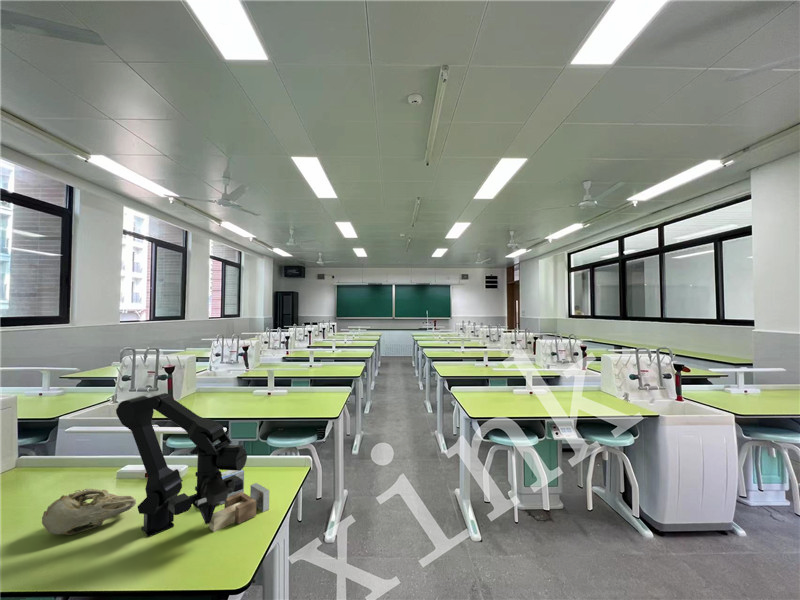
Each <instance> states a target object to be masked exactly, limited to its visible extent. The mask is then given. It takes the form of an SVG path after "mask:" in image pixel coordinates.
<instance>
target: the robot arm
mask: <svg viewBox="0 0 800 600" xmlns="http://www.w3.org/2000/svg"><path fill="white" fill-rule="evenodd" d="M154 411H156V412H158V413H159V414H161V415H162V416H164V417H165V418H167V419H168V420H170V421H171V422H172V423H173V424H175V425H177V426H179V427H180V428H181V429H182V430H184V431H185V432H186V433H187V436H188V439H189V440H190V441H191V442H192V443H193V444H194V445H195V447H194V448H193V449H192V450H191V451H190V452H189V453H190V455H197V460H196V461H197V462H196V464H197V467H196V468H197V469H196V471H195V476H196V486H195V487H194V490H195V492H196V493H194V494H191V495H189V496H188V495H187V494H186V493H185V492H184V493H181V494H180V492H181V490H182V488H183V483H182V482H183V479H182V477H181V475H180V471H179V469H178V468H177V469H171V468H170V467H168V465H167V462H166V459H165V457H164V454H163V451H162V448H161V446H160V442H159V440H158V437H157V434H156V432H155V429H154V427H153V424H152V422H153V416H154ZM115 412H116V415H117V418H118V419H119V422H120V423H121V425H123V427H126V428H127V429H128V430H129V431H131V433H132V437H133V439H134V441H135V444H136V447H137V450H138V453H139V455H140V458H141V461H142V464H143V467H144V470H145V472H146V475H147V480H146V485H145V488H144V489H145V493H146V497H145V498H144V499H143V500H142V501H141V502H140V503H139V504H138V505H137V510H138V514H140V515H143V525H141V527H140V529H141V530H142V531H143V533H144V534H145V535H146V536H147V537H148V538H149V537H152V536H155V535H157V534H159V533H162V532H163V531H166V530H169V529H170V528H173V527H174V526H175V524H174V520H175V516H178V515H180V514H181V515H182V514H183V513H186V512H188V511H190V509H191V508H192V506H193V507H195V508H196V509H198V510H199V512H200V515H201V517H202V520H203V522H204V524H205V525H209V523H210V520H211V518H212V515H213V513H215V512H214V511H215V510H216V508H217V505H218V504H219V502H221V501H225V500H226V499H227V496H228V494H230V493H232V492H237V491H239V490H242V489H243V488H244V489H245V481H244V482H243V480H242V479H241V478H239V477H237V476H236V475H233V476H231V477H228V478H225V479H222V474H221V473H222V471H228V470H237V471H240V470H243V469H244V467H245V466H246V464H247V458H248V453H247V450H246V449H244V445H243V444H232V443H233V442H232V440H231V439H230V437H229V436H228V435H227V433H226V431H225V430H224V426H223V424H222V423H220V422H218V421H216V420H213V419H211V418H207V417H202V416H200V415H199V414H196V413H195V412H194V411H192V410H191V409H189V408H188V407H186V406H185V405H183V404H182V403H180V402H178V400H176V399H174V398H173V397H172V395H171V394H169V393H166V392H163V393H159V394H155V395H152V396H150V397H148V396H146V395H139V396H136V397H132V398H130V399H125V400H123V401H120V403H119V404H118V406H117V408H116V409H115ZM217 442H218V443H217Z"/></svg>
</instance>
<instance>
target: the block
mask: <svg viewBox="0 0 800 600" xmlns="http://www.w3.org/2000/svg"><path fill="white" fill-rule="evenodd" d="M242 503H244V502H243V501H241V502H239V503H236V504H234V505H232V506H229V507H227V508H225V507H224V508H223V509H220V510H217V511H216V512H213V515H212V518H211V520H210V523H209V524H208V528H209V529H210V530H211V531H212V532H213V533H215V532H217V531H220V530H222V529H223V528H225V527H228V526H230V525H232V524H234V523H236V522H235V511H236V506H237V505H239V504H242Z"/></svg>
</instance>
